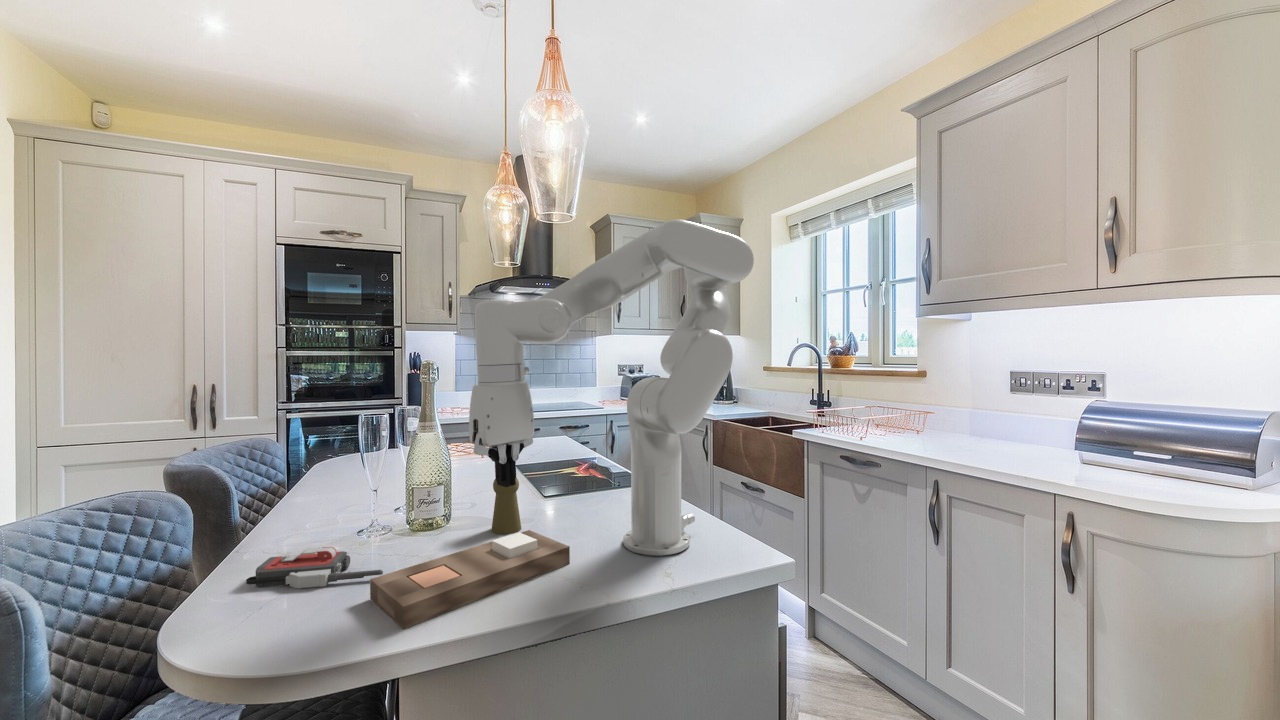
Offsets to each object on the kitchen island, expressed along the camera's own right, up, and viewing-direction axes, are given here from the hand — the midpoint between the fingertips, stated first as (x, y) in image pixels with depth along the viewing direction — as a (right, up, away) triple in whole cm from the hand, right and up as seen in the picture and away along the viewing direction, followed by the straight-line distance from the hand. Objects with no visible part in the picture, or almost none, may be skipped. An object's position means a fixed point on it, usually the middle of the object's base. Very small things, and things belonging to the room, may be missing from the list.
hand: (506, 484), depth 85 cm
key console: (-4, -15, -3) cm, 15 cm away
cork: (-5, -14, +20) cm, 25 cm away
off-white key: (+1, -12, +2) cm, 12 cm away
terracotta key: (-9, -14, -9) cm, 18 cm away
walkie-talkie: (-30, -15, -2) cm, 33 cm away
